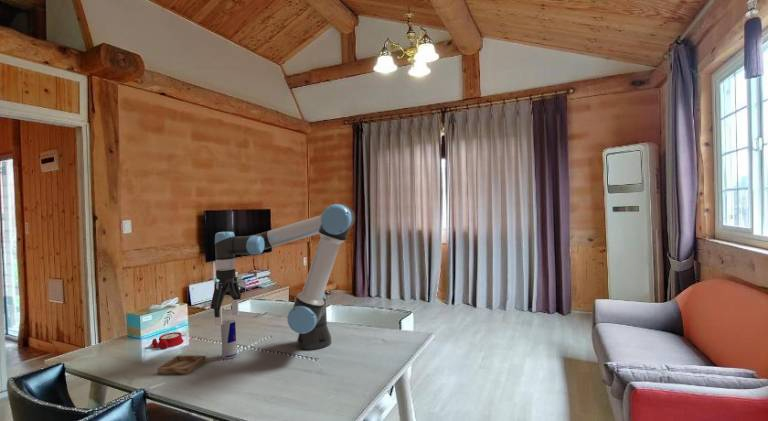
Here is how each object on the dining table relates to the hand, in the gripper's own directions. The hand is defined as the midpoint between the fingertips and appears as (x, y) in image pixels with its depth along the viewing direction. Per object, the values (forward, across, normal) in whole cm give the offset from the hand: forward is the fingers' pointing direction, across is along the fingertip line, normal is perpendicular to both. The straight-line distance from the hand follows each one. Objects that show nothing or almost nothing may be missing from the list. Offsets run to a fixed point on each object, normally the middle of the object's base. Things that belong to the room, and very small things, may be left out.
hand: (227, 319), depth 159 cm
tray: (+16, +11, -13) cm, 23 cm away
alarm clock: (+16, -13, -37) cm, 42 cm away
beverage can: (+16, 0, 0) cm, 16 cm away
